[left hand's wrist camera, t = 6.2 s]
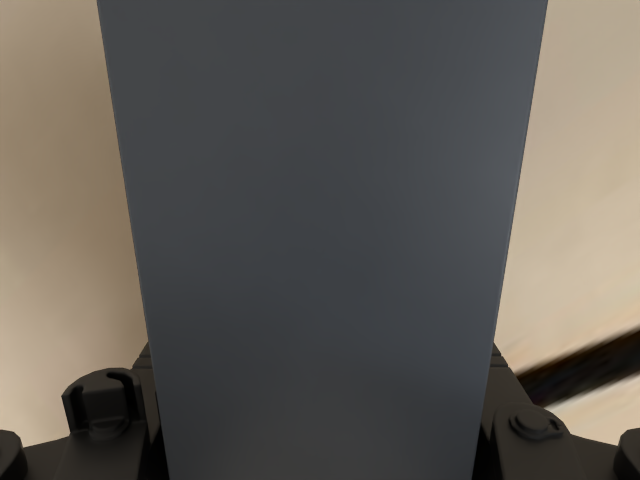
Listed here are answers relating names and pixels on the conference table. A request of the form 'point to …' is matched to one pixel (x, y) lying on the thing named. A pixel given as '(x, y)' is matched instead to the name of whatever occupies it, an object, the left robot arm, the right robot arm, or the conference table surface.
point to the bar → (321, 224)
